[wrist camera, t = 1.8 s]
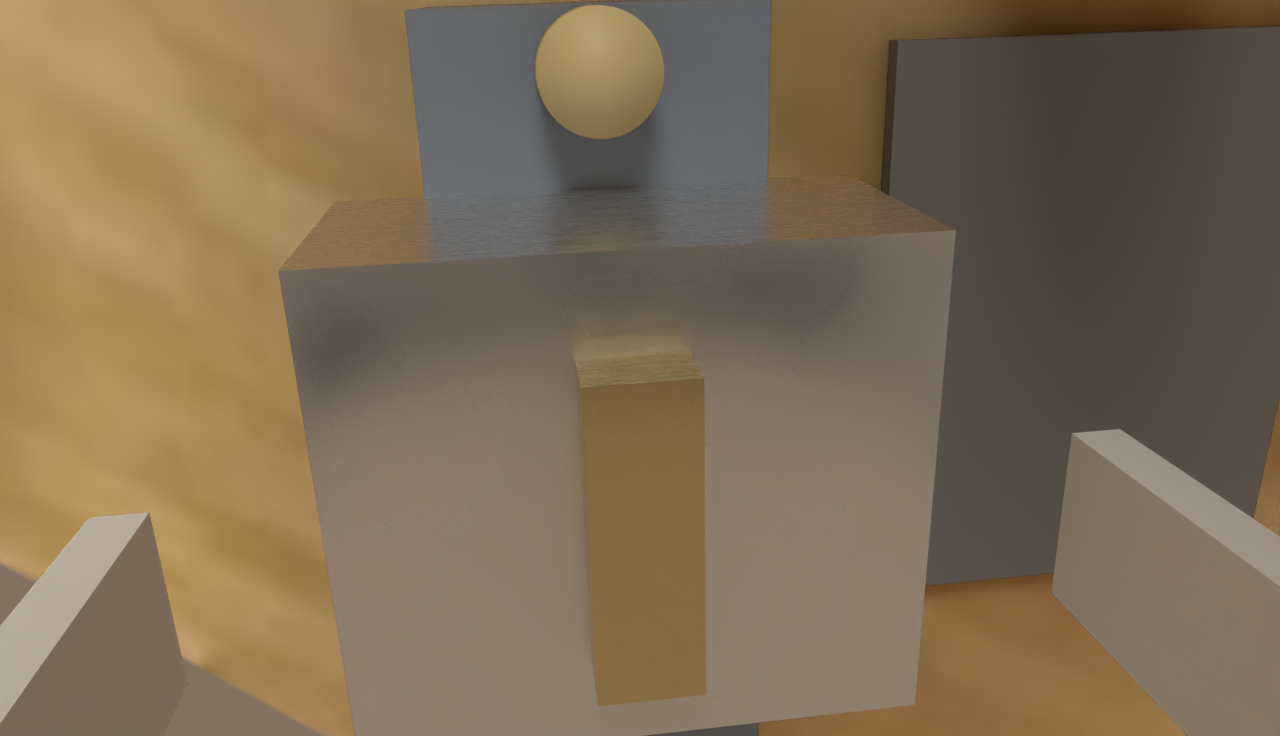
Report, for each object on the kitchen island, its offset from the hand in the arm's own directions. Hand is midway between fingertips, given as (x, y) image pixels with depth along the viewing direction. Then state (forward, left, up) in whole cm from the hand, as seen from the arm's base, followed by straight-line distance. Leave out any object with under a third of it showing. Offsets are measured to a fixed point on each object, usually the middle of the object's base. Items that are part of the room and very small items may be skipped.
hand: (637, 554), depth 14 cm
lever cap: (0, 0, -5) cm, 5 cm away
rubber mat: (+1, +13, -10) cm, 16 cm away
